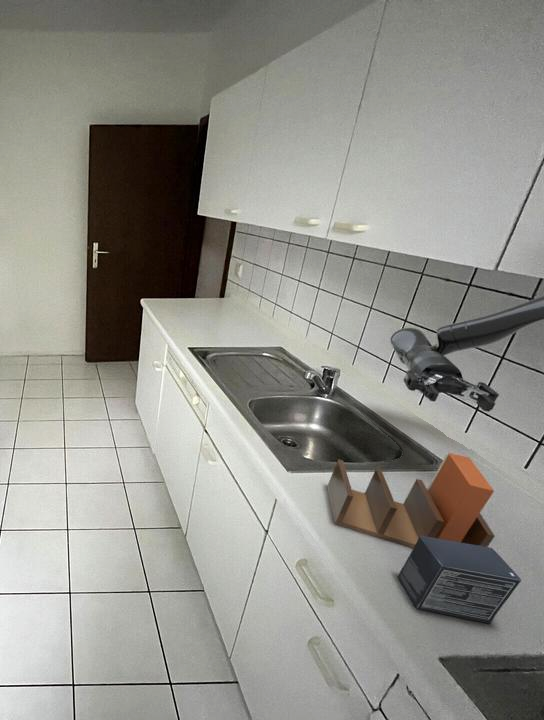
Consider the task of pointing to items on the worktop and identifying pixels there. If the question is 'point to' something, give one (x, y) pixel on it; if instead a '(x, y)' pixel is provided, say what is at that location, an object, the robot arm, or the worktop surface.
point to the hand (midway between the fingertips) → (461, 402)
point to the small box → (457, 579)
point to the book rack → (393, 511)
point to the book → (458, 495)
